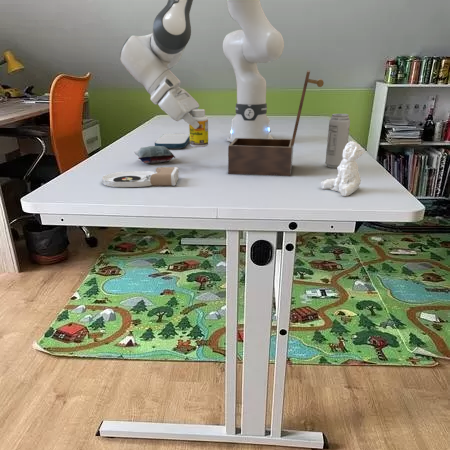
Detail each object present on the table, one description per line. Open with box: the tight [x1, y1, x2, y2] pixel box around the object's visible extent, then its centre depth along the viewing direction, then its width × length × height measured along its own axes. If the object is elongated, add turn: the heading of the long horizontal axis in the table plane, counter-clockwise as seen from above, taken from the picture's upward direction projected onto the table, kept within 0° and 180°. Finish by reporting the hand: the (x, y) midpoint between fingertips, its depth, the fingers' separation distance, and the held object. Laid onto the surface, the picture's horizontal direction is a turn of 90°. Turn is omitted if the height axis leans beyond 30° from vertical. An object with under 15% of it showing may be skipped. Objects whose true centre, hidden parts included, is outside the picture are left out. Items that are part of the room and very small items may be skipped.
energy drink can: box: [324, 113, 351, 169], centre depth 137 cm, size 6×6×15 cm
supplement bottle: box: [188, 108, 209, 148], centre depth 134 cm, size 6×6×10 cm
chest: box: [227, 138, 294, 177], centre depth 135 cm, size 18×14×8 cm
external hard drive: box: [154, 133, 190, 149], centre depth 175 cm, size 24×12×2 cm, turn 178°
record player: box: [101, 166, 180, 188], centre depth 123 cm, size 12×3×20 cm
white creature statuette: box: [320, 140, 366, 197], centre depth 113 cm, size 10×9×12 cm
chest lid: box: [291, 69, 325, 147], centre depth 127 cm, size 19×14×5 cm
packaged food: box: [133, 145, 176, 164], centre depth 146 cm, size 9×12×5 cm
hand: (200, 125), depth 134 cm, fingers closed on supplement bottle, 5 cm apart
